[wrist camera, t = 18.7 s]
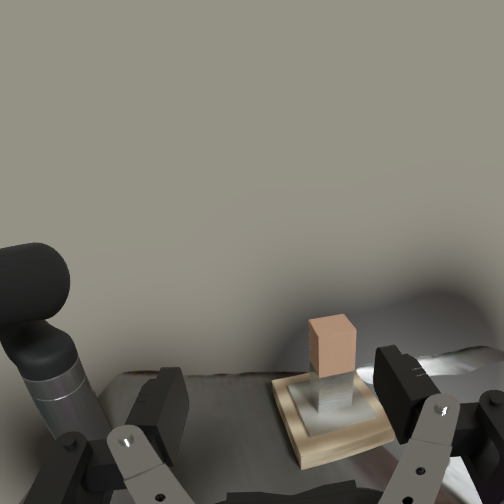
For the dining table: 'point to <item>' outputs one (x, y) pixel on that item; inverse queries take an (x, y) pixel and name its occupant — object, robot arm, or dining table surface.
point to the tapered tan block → (332, 345)
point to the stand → (330, 422)
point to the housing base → (331, 390)
